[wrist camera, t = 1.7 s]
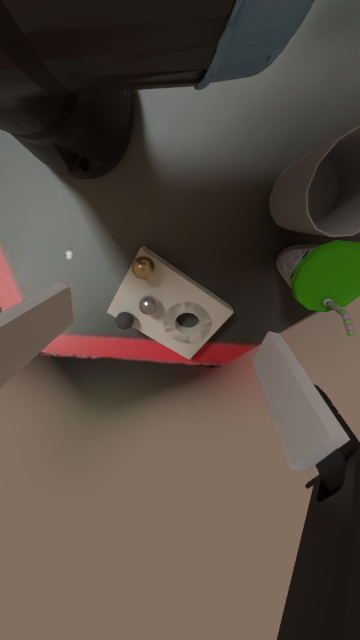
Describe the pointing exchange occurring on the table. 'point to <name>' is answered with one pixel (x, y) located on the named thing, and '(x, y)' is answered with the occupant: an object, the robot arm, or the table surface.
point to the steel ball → (148, 305)
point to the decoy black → (124, 320)
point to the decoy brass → (143, 268)
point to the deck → (171, 306)
